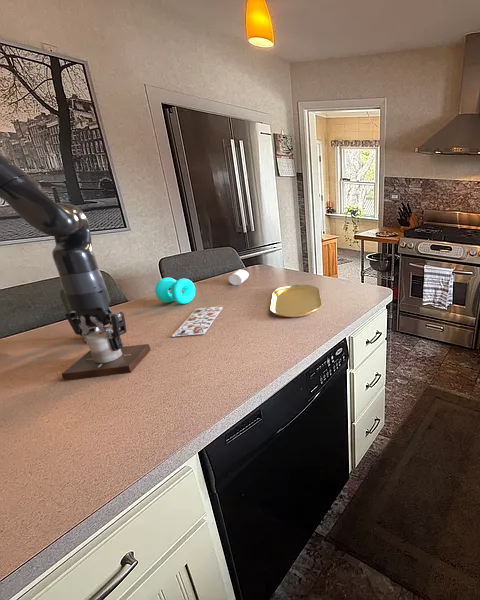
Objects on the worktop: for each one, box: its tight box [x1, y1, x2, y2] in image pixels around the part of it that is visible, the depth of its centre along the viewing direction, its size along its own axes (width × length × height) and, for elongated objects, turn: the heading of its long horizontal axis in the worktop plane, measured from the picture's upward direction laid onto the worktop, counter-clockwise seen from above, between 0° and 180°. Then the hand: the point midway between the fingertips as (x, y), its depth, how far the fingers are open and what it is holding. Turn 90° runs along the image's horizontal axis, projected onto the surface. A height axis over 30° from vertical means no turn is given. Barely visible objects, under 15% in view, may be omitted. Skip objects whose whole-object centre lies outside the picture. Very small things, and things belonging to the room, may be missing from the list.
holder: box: [61, 343, 151, 381], centre depth 86 cm, size 14×12×2 cm
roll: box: [228, 269, 250, 286], centre depth 154 cm, size 6×12×6 cm, turn 3°
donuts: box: [154, 276, 196, 305], centre depth 127 cm, size 10×10×10 cm
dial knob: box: [86, 329, 122, 363], centre depth 85 cm, size 6×6×7 cm
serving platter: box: [269, 284, 323, 318], centre depth 131 cm, size 19×35×2 cm, turn 17°
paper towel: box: [171, 306, 224, 338], centre depth 113 cm, size 24×1×9 cm
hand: (106, 348), depth 85 cm, fingers closed on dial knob, 5 cm apart
